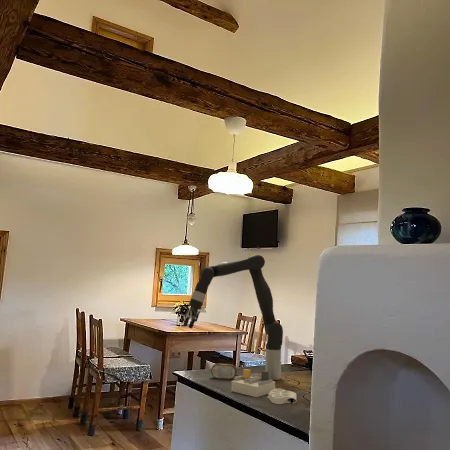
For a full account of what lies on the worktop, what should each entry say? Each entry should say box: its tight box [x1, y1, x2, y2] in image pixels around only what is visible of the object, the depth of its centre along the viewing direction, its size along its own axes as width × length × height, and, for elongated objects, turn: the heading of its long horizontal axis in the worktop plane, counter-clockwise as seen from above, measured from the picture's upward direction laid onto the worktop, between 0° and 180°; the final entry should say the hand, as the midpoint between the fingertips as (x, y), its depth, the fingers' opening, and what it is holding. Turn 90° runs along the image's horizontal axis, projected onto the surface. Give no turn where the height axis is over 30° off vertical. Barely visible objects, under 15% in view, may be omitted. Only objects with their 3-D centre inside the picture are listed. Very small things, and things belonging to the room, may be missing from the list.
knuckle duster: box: [266, 388, 298, 405], centre depth 222 cm, size 3×18×15 cm
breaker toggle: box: [242, 368, 252, 379], centre depth 239 cm, size 3×4×5 cm
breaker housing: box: [230, 375, 276, 398], centre depth 235 cm, size 17×16×6 cm
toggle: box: [260, 370, 270, 381], centre depth 236 cm, size 3×4×5 cm
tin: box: [210, 362, 238, 380], centre depth 262 cm, size 15×3×8 cm, turn 84°
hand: (187, 326), depth 256 cm, fingers open, 8 cm apart
